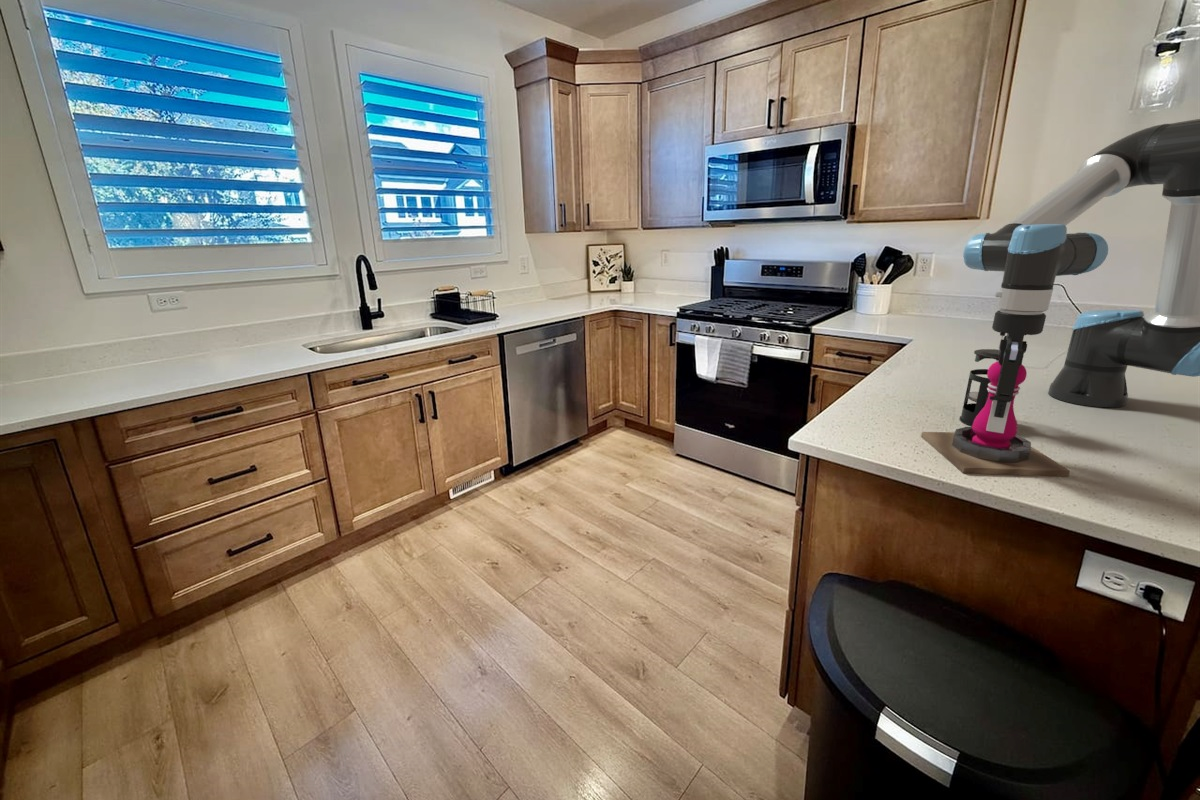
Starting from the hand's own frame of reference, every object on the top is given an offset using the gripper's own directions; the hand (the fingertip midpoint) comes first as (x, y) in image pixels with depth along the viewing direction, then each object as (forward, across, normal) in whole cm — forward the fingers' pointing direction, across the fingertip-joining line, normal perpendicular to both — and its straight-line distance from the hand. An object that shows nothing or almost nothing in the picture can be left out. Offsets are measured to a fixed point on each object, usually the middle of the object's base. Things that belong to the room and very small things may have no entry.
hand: (994, 425), depth 103 cm
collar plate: (+7, 0, 0) cm, 7 cm away
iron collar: (+5, 0, 0) cm, 5 cm away
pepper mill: (+5, 0, 0) cm, 5 cm away
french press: (+7, -21, -1) cm, 22 cm away
